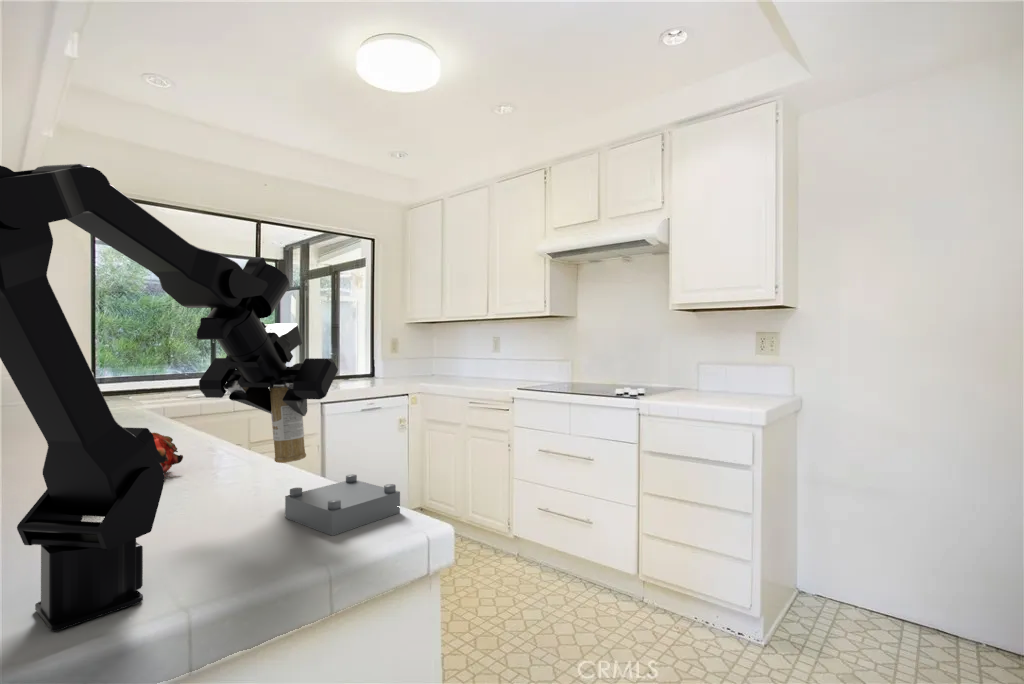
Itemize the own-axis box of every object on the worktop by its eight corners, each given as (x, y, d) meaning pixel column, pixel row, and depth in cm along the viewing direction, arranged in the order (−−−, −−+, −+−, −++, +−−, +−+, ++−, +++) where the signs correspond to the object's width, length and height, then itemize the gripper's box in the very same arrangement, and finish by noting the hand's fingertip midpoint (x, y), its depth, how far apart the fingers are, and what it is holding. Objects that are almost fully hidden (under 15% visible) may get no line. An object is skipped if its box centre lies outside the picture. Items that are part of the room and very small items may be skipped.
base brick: (331, 535, 64) (331, 504, 64) (285, 517, 71) (285, 489, 71) (400, 512, 73) (400, 485, 73) (352, 498, 80) (352, 473, 80)
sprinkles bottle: (271, 461, 79) (264, 374, 79) (302, 455, 82) (295, 371, 82) (278, 465, 75) (270, 374, 75) (310, 459, 78) (302, 370, 78)
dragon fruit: (145, 476, 99) (163, 498, 91) (101, 457, 93) (117, 478, 85) (177, 438, 102) (197, 456, 94) (136, 417, 96) (154, 434, 89)
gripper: (332, 302, 73) (364, 375, 84) (213, 303, 76) (259, 374, 87) (301, 358, 66) (341, 431, 76) (170, 357, 68) (227, 428, 79)
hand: (291, 413), depth 80 cm, fingers closed on sprinkles bottle, 4 cm apart
